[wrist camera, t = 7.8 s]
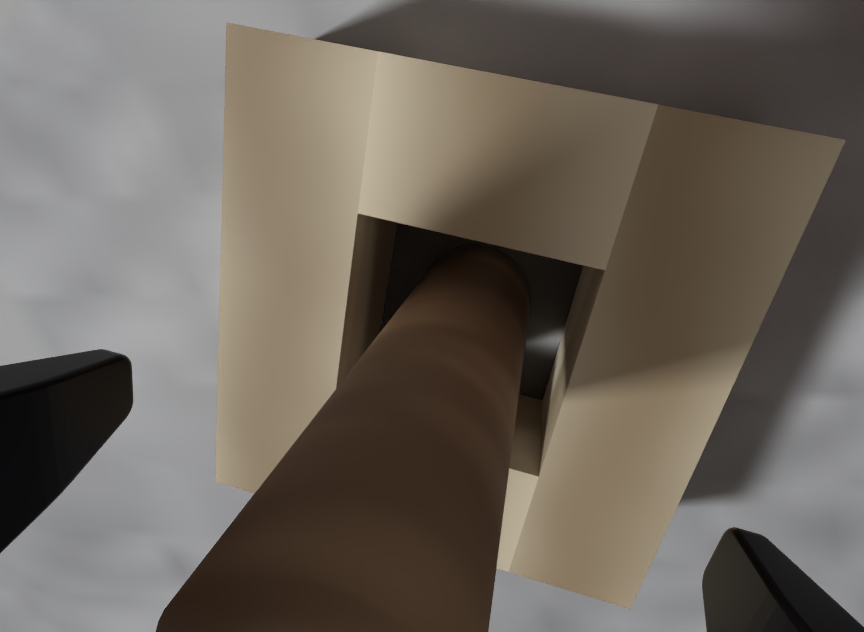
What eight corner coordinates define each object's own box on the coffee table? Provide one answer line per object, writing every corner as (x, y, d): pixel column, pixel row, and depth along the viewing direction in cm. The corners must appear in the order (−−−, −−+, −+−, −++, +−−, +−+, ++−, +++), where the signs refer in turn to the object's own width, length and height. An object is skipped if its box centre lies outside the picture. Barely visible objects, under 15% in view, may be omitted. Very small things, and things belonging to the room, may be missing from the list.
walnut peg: (543, 260, 14) (511, 644, 4) (515, 361, 15) (438, 851, 5) (432, 234, 14) (151, 525, 4) (413, 334, 16) (157, 744, 6)
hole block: (768, 130, 12) (846, 139, 9) (615, 510, 16) (629, 609, 13) (305, 42, 13) (226, 22, 10) (276, 413, 18) (215, 481, 14)
